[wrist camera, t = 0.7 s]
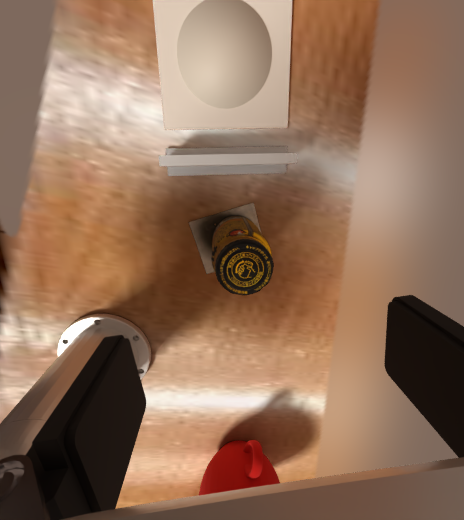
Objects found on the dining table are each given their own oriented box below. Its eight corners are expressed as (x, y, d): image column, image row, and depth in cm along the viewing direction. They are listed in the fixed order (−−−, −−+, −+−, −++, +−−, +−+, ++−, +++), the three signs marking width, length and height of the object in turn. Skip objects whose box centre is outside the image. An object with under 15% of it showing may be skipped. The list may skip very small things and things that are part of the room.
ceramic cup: (290, 412, 45) (310, 477, 35) (264, 484, 50) (275, 558, 40) (212, 401, 43) (210, 466, 34) (193, 477, 48) (188, 552, 39)
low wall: (285, 173, 33) (296, 173, 28) (168, 176, 33) (160, 176, 28) (286, 146, 32) (297, 142, 28) (166, 148, 32) (157, 144, 27)
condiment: (267, 255, 36) (290, 293, 25) (206, 273, 37) (201, 319, 25) (253, 202, 34) (271, 217, 23) (188, 221, 35) (174, 246, 23)
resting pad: (286, 128, 32) (287, 127, 31) (164, 130, 31) (164, 129, 31) (292, -26, 27) (293, -30, 27) (151, -27, 27) (149, -31, 26)
